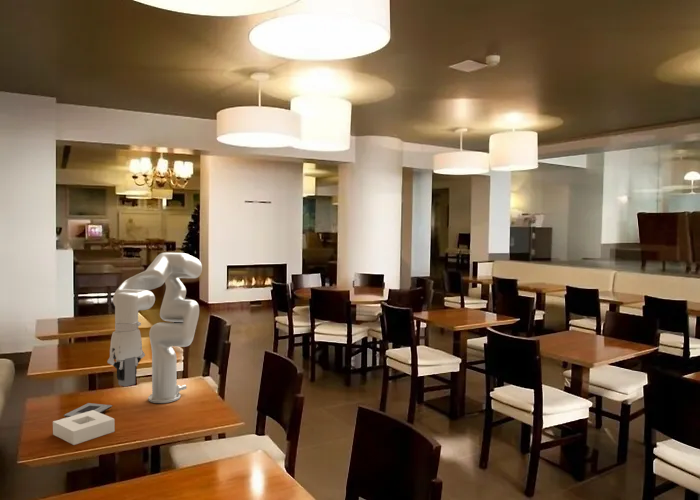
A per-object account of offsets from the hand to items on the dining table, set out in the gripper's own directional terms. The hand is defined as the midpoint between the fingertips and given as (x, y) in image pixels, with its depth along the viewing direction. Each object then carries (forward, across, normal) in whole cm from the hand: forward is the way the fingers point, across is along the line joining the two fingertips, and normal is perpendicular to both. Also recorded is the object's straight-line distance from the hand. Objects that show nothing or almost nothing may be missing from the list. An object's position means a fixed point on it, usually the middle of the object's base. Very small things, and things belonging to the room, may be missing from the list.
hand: (126, 377), depth 184 cm
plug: (+2, 0, 0) cm, 2 cm away
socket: (+18, +12, -6) cm, 22 cm away
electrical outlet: (+18, +2, -22) cm, 29 cm away
